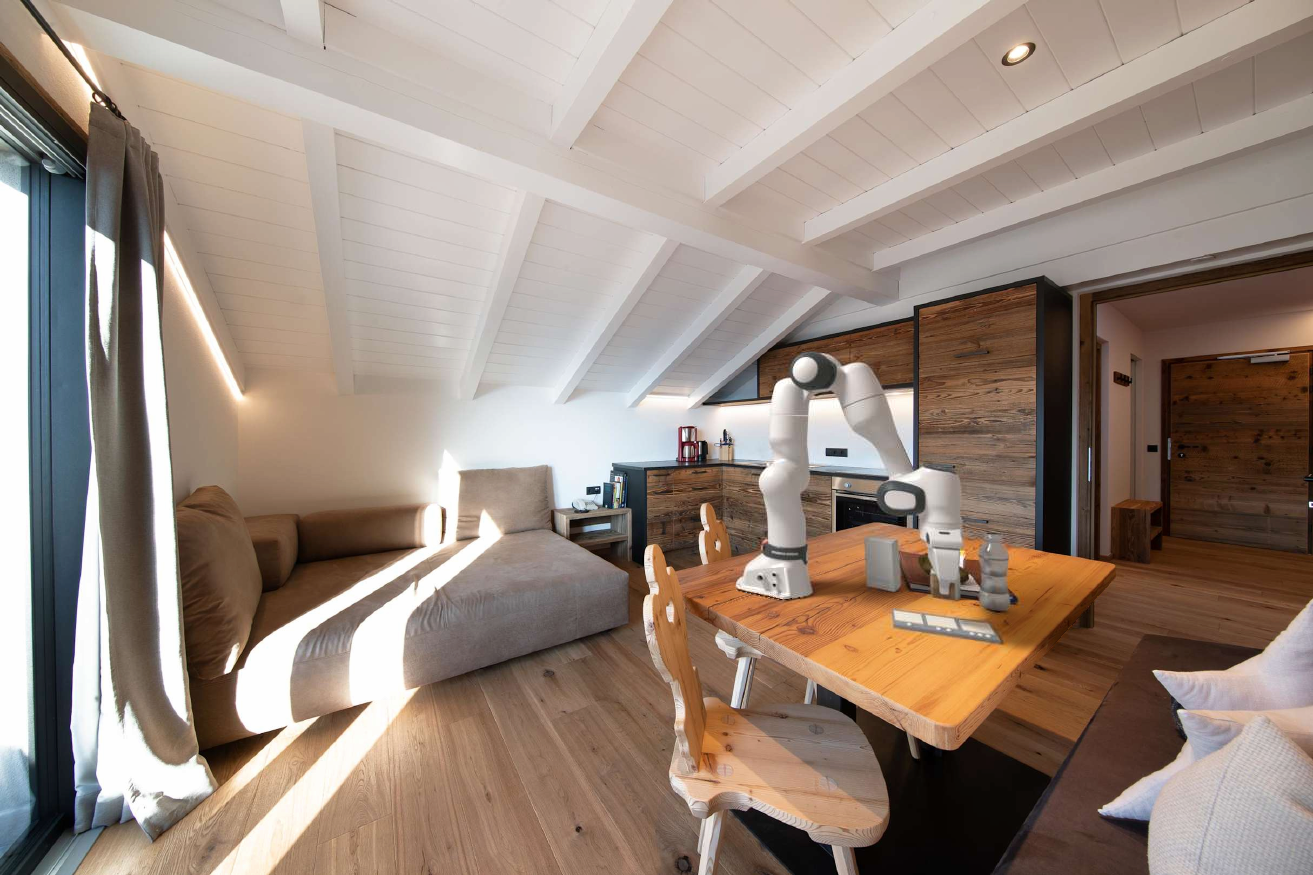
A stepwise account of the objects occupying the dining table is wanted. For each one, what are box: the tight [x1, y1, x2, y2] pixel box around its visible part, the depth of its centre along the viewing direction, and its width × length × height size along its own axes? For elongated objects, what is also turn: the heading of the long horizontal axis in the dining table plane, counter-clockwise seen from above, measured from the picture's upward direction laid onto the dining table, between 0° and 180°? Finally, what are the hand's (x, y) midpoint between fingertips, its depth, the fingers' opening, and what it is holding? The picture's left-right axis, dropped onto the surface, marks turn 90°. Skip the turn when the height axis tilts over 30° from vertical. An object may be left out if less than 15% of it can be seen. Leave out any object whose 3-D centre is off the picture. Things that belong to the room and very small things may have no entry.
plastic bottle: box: [977, 531, 1011, 612], centre depth 115 cm, size 6×7×20 cm
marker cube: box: [929, 573, 956, 601], centre depth 107 cm, size 4×4×4 cm
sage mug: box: [930, 568, 961, 601], centre depth 125 cm, size 7×7×7 cm
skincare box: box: [863, 535, 902, 593], centre depth 133 cm, size 8×6×15 cm
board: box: [891, 608, 1002, 645], centre depth 106 cm, size 21×10×1 cm, turn 64°
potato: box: [917, 552, 970, 584], centre depth 138 cm, size 8×13×8 cm, turn 33°
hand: (942, 589), depth 107 cm, fingers closed on marker cube, 4 cm apart
